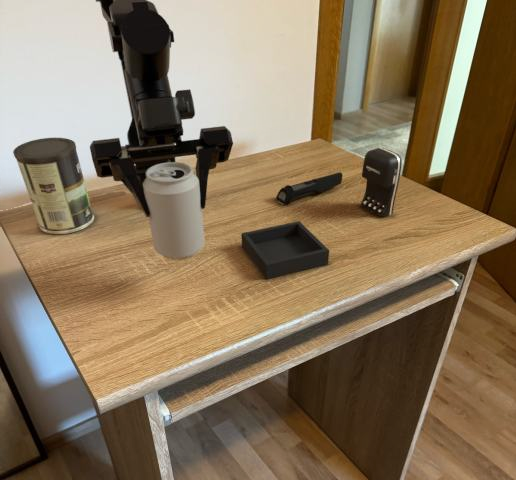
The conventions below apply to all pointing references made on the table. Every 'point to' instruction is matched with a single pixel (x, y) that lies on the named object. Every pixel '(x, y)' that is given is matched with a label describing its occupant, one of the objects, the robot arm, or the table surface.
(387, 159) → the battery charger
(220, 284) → the table surface
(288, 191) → the electric trimmer
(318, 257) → the black square open tray
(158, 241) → the can
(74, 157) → the coffee can
